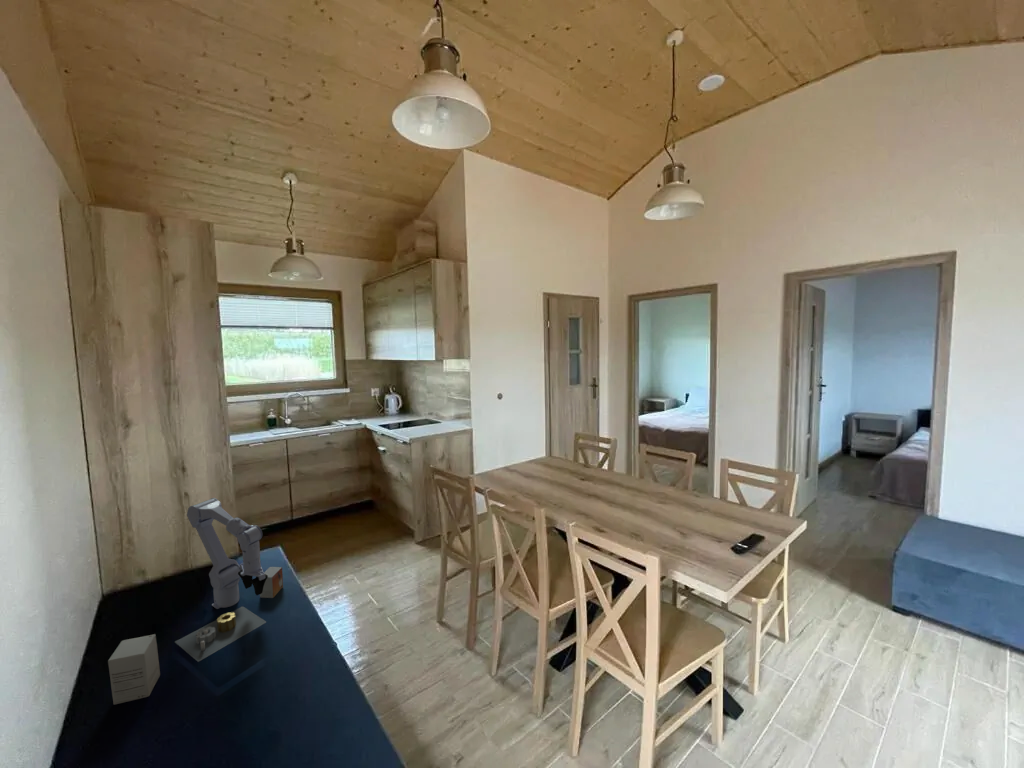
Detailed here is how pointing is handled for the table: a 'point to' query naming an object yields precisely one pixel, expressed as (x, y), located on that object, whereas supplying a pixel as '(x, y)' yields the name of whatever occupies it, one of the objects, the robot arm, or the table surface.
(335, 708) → the table surface
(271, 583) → the small box
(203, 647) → the gear board
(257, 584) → the robot arm
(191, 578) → the table surface
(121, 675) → the supplement box
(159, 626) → the table surface
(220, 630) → the brass gear
